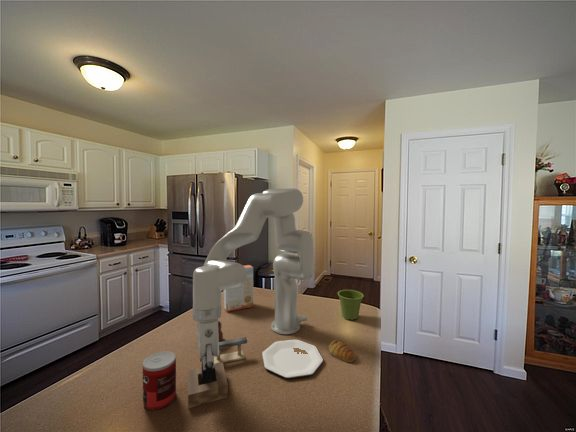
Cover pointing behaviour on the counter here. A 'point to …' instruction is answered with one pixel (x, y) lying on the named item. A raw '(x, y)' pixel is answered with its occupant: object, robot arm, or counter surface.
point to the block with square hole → (206, 387)
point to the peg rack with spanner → (234, 355)
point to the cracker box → (240, 294)
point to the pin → (202, 366)
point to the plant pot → (350, 303)
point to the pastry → (341, 351)
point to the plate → (291, 359)
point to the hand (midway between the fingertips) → (207, 370)
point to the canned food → (159, 380)
